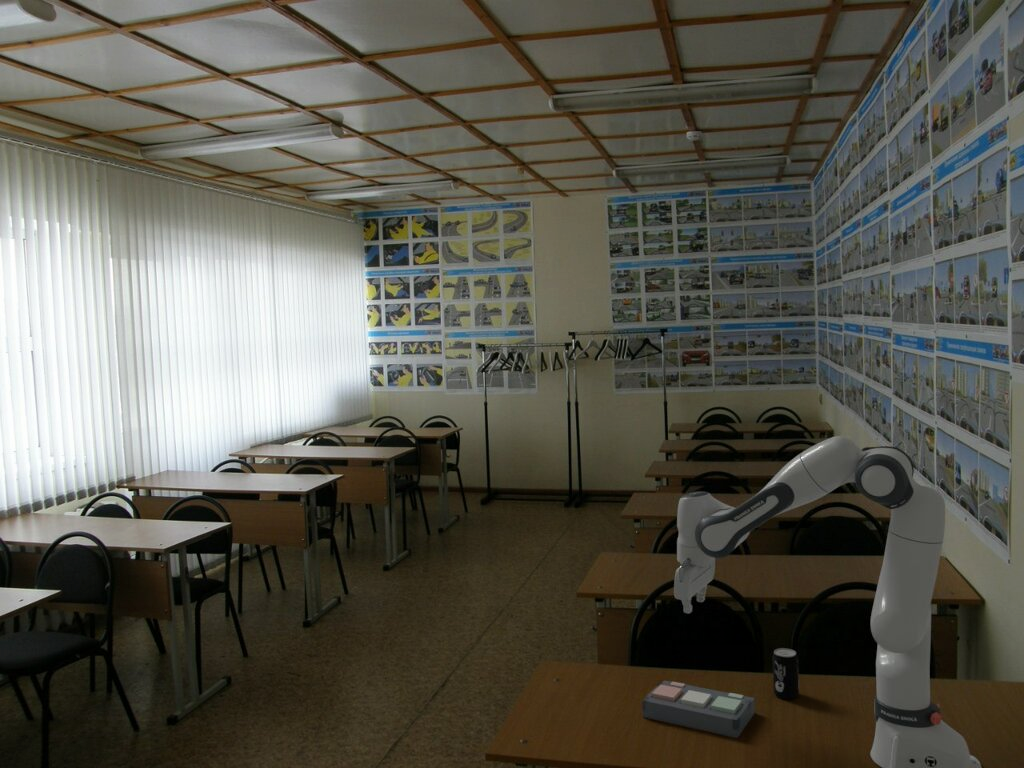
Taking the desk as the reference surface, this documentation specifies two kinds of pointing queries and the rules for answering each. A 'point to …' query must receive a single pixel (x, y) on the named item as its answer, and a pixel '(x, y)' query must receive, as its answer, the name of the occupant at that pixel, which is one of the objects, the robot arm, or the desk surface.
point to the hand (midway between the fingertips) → (694, 606)
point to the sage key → (726, 705)
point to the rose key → (667, 693)
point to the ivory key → (696, 699)
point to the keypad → (699, 711)
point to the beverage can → (785, 673)
